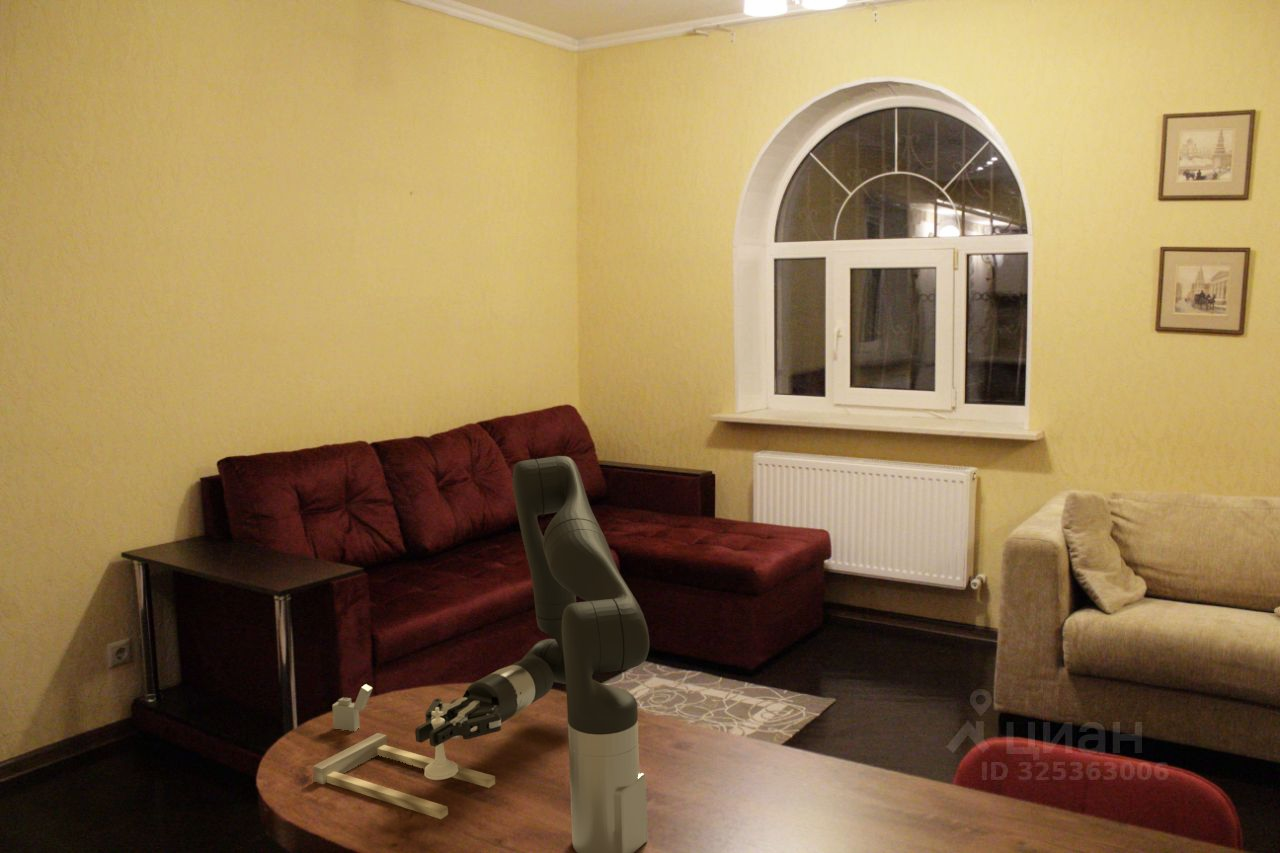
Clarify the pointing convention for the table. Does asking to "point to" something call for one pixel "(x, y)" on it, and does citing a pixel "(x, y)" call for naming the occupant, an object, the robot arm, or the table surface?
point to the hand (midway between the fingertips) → (424, 737)
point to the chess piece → (440, 756)
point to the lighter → (350, 710)
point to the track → (363, 752)
